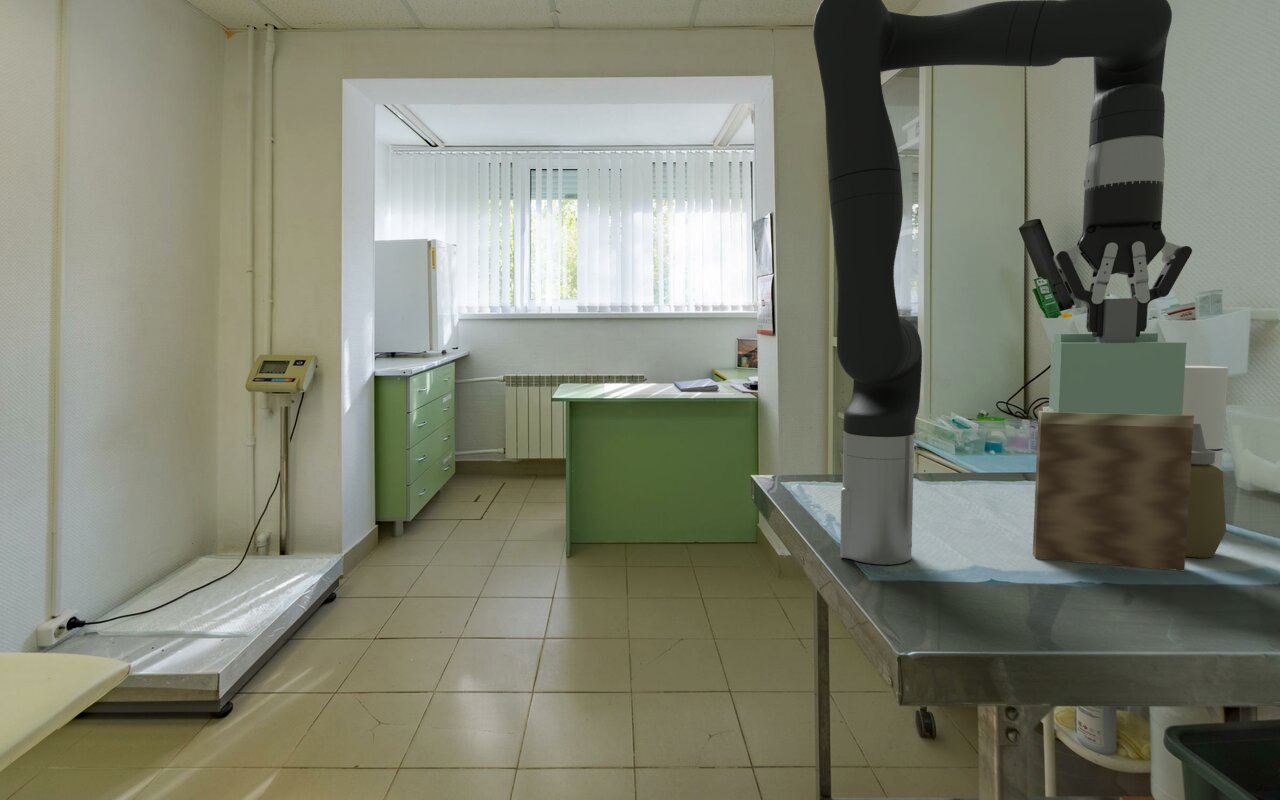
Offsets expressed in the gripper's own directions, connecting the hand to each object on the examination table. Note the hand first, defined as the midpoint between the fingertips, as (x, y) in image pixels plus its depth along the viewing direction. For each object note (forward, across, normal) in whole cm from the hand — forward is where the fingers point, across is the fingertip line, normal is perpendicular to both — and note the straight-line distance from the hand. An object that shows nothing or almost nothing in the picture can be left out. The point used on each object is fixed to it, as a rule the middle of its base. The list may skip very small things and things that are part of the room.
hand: (1115, 336), depth 84 cm
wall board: (+30, +3, +14) cm, 33 cm away
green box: (+9, 0, +2) cm, 9 cm away
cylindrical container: (+30, +20, +36) cm, 51 cm away
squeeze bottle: (+30, +14, +20) cm, 39 cm away
